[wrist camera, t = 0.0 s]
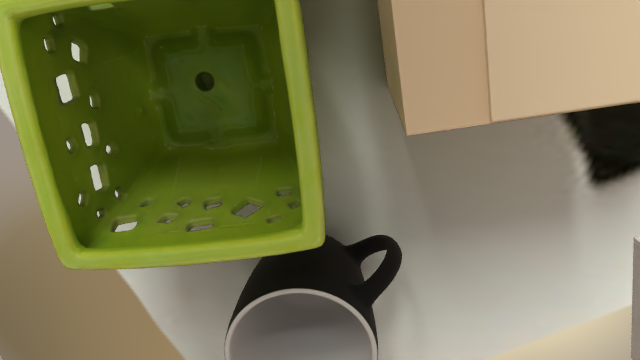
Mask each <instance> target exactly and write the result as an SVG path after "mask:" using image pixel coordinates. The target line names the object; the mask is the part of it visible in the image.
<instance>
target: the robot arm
mask: <svg viewBox="0 0 640 360" xmlns="http://www.w3.org/2000/svg"><path fill="white" fill-rule="evenodd" d="M631 339H632V340H631V358H632V359H633V360H640V236H638V237H634V251H633V294H632V338H631ZM0 360H2V358H1V355H0Z"/></svg>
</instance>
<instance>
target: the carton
mask: <svg viewBox="0 0 640 360" xmlns="http://www.w3.org/2000/svg"><path fill="white" fill-rule="evenodd" d="M377 3H378V11H379V19H380V27H381V35H382V43H383V51H384V59H385V68H386V76H387V84H388V88H389V91H390V93H391V96H392V98H393V101H394V104H395V106H396V109H397V111H398V114H399V117H400V119H401V122H402V124H403V127H404V130H405V132H406V135H407V136H409V135H416V134H423V133H430V132H437V131H443V130H450V129H457V128H464V127H471V126H478V125H485V124H492V123H499V122H506V121H513V120H519V119H526V118H533V117H540V116H547V115H554V114H561V113H568V112H575V111H582V110H589V109H596V108H602V107H609V106H616V105H623V104H630V103H637V102H640V0H377Z"/></svg>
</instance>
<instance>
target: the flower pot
mask: <svg viewBox="0 0 640 360" xmlns="http://www.w3.org/2000/svg"><path fill="white" fill-rule="evenodd" d="M53 17H54V19H55V22H56V25H55V24H54V22H53ZM44 39H45V41H46V45H47V49H48V51H47V50H46V48H45V45H44ZM71 42H72V43H74V44H76V45H78V47H79V48H80V62H78V61H76V60H74V59H73V58H72V52H71ZM0 68H1V72H2V76H3V81H4V85H5V88H6V92H7V97H8V100H9V104H10V107H11V111H12V115H13V119H14V122H15V126H16V130H17V134H18V137H19V141H20V144H21V148H22V151H23V154H24V158H25V162H26V165H27V168H28V171H29V174H30V178H31V181H32V184H33V187H34V190H35V193H36V196H37V200H38V203H39V206H40V209H41V212H42V215H43V218H44V221H45V223H46V226H47V229H48V231H49V234H50V237H51V240H52V242H53V245H54V248H55V250H56V253H57V255H58V257H59V260H60V262H61V263H62V264H63V266H64V267H66V268H68V269H73V270H106V269H107V270H108V269H136V268H153V267H168V266H183V265H194V264H204V263H214V262H224V261H233V260H242V259H251V258H258V257H265V256H272V255H280V254H286V253H291V252H297V251H303V250H308V249H313V248H317V247H320V246H322V244H323V243H324V241H325V208H324V193H323V179H322V169H321V158H320V149H319V140H318V131H317V123H316V115H315V108H314V101H313V93H312V85H311V77H310V69H309V62H308V55H307V48H306V40H305V32H304V25H303V18H302V12H301V5H300V0H0ZM62 74H66V76H67V78H68V81H69V85H70V89H71V93H72V96H73V98H72V100H70V101H68V102H67V103H63V102H62V100H61V97H60V93H59V89H58V86H57V83H56V77H58V76H60V75H62ZM89 95H90V96H91V99H92V106H93V107H91V105H90V98H89ZM83 123H87V124H88V125H89V128H90V131H91V136H92V145H91V146H87V145H86V143H85V139H84V134H83V131H82V127H81V125H82V124H83ZM67 141H68V142H69V143H70V146H71V148H70V150H69V149H68V147H67V144H66V142H67ZM107 145H108V146H110V148H111V150H110V152H109V154H108V153H107V152H106V146H107ZM93 165H97V167H98V171H99V175H100V179H101V183H102V188H101V189H99V190H97V191H96V190H95V188H94V185H93V180H92V177H91V170H90V167H91V166H93ZM115 190H116V191H117V192H118V198H117V197H116V196H115ZM290 193H291V194H290ZM79 194H81V202H80V205H79V203H78V199H79ZM283 194H290V195H288V196H282V197H278V196H279V195H283ZM187 203H188V204H189V205H188V206H186V207H181V206H182V205H184V204H187ZM216 203H222V204H221V205H220V206H218V207H214V208H211V209H207V210H206V207H207V206H208V205H211V204H216ZM247 204H254V205H256V206H260V207H261V208H260V209H259V210H257V211H256V212H254V213H253V214H251V215H249V216H248V217H242V216H237V215H235V214H236V213H237V212H238V211H239V210H241V209H242V208H243V207H244V206H245V205H247ZM296 206H297V207H296ZM293 207H295V208H293ZM97 211H99V214H100V216H99V217H98V216H97ZM167 220H173V221H171V222H169V223H164V222H165V221H167ZM135 221H138V222H137V225H136V227H135V228H134V229H133V230H129V231H122V232H115V230H116V228H117V226H118V225H121V224H125V223H131V222H135ZM212 224H213V226H212V227H211V228H209V229H204V230H197V231H190V229H191V228H193V227H196V226H203V225H212Z"/></svg>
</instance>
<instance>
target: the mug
mask: <svg viewBox="0 0 640 360" xmlns="http://www.w3.org/2000/svg"><path fill="white" fill-rule="evenodd" d="M382 250H387V253H386V255H385V258H384V260H383V262H382V263H381V265H380V266H379V268H378V269H377V270H376V271H375V272H374V274H373V275H372V276H371V277H370V278H369V279H368V280H366V281H364V278H363V275H362V272H361V268H360V265H361V263H362V261H363V260H364V259H365V258H366V257H368V256H369V255H371V254H373V253H375V252H378V251H382ZM401 261H402V252H401V249H400V247H399V245H398V243H397V242H396V241H395V240H394V239H393V238H391V237H389V236H386V235H376V236H372V237H369V238H366V239H364V240H362V241H360V242H357V243H355V244H352V245H349V246H344V245H342V244H341V243H340V242H338V241H337V240H335V239H333V238H331V237H329V236H326V235H325V241H324V243H323V244H322V246H320V247H317V248H313V249H308V250H303V251H297V252H291V253H286V254H280V255H272V256H265V257H262V259H261V260H260V261H259V263H258V264H257V266H256V267H255V269H254V271H253V272H252V274H251V276H250V277H249V279H248V281H247V283H246V285H245V287H244V289H243V291H242V293H241V296H240V298H239V300H238V302H237V305H236V307H235V310H234V312H233V315H232V318H231V320H230V323H229V326H228V330H227V334H226V338H225V360H378V340H377V332H376V325H375V319H374V314H373V309H372V304H373V303H374V301H375V300H376V299H377V298H378V297H379V295H380V294H381V293H382V292H383V291H384V290H385V289H386V288H387V287H388V285H389V284H390V283H391V282H392V280H393V279H394V277H395V276H396V274H397V272H398V270H399V268H400V265H401Z"/></svg>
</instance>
